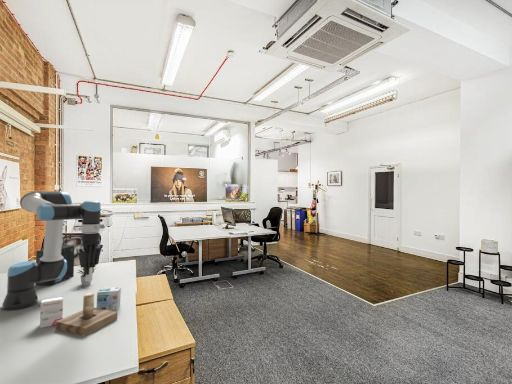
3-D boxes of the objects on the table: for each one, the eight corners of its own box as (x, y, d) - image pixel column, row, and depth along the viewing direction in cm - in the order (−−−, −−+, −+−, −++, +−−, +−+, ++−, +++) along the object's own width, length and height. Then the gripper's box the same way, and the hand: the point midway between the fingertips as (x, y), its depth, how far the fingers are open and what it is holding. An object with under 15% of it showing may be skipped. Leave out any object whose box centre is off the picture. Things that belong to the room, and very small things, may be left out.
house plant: (104, 281, 195) (105, 259, 195) (90, 287, 181) (91, 263, 181) (86, 280, 196) (86, 258, 197) (71, 286, 182) (72, 262, 183)
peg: (80, 325, 129) (81, 295, 130) (88, 321, 134) (89, 292, 134) (87, 326, 128) (88, 297, 128) (95, 322, 132) (96, 294, 132)
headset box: (51, 286, 183) (52, 248, 184) (34, 285, 184) (35, 247, 184) (74, 276, 206) (75, 242, 206) (59, 276, 206) (60, 242, 207)
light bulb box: (95, 312, 144) (96, 292, 144) (99, 307, 150) (100, 288, 151) (117, 310, 147) (118, 290, 147) (120, 305, 153) (121, 286, 153)
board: (55, 329, 125) (55, 321, 125) (90, 313, 142) (90, 306, 142) (84, 336, 119) (85, 328, 120) (117, 318, 137) (117, 311, 137)
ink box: (62, 319, 134) (63, 296, 135) (62, 323, 130) (63, 299, 131) (40, 324, 130) (41, 299, 130) (39, 328, 126) (40, 302, 126)
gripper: (84, 234, 124) (82, 285, 124) (107, 231, 137) (105, 277, 137) (72, 233, 127) (70, 283, 126) (96, 230, 139) (94, 276, 139)
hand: (88, 280), depth 131 cm, fingers closed
